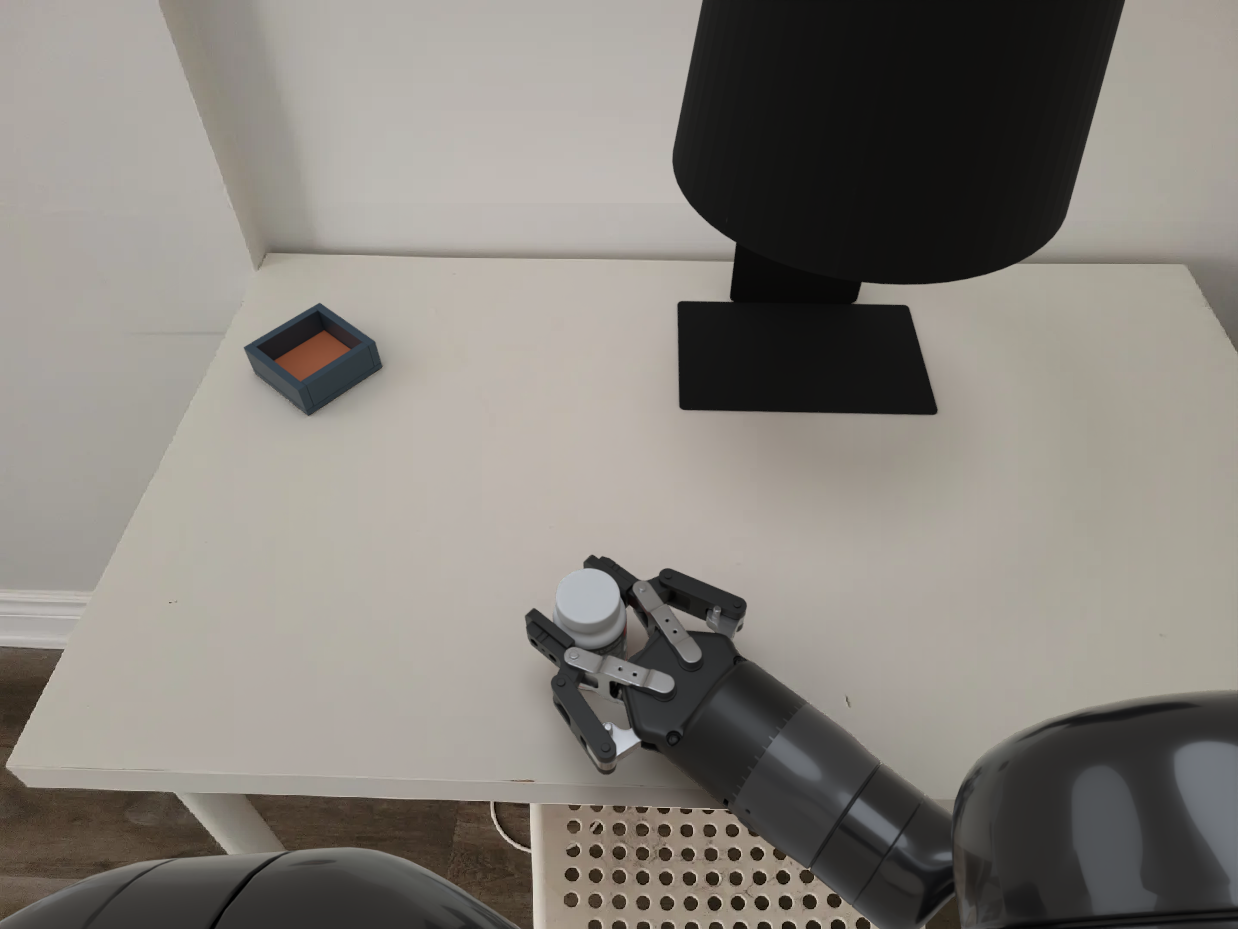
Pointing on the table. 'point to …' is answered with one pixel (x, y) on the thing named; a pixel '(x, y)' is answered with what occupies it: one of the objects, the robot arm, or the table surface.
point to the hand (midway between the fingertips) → (559, 592)
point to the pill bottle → (592, 613)
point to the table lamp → (870, 179)
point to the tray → (313, 358)
